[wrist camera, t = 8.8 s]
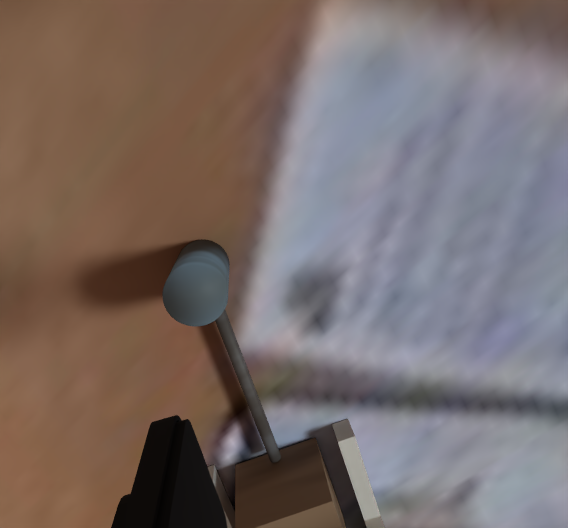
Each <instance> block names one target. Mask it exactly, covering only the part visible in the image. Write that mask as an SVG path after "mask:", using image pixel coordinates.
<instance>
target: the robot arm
mask: <svg viewBox="0 0 568 528" xmlns="http://www.w3.org/2000/svg"><path fill="white" fill-rule="evenodd" d="M111 528H227V521H226V516H225V513H224V510H223V507H222V504H221V502H220V499H219V496H218V494H217V491H216V489H215V486H214V483H213V481H212V478H211V475H210V473H209V470H208V467H207V465H206V462H205V459H204V457H203V454H202V451H201V449H200V446H199V443H198V441H197V438H196V435H195V433H194V430H193V428H192V425H191V423H190V421H189V420H188V419H186V420H183V421H181V419H180V417H179V416H177V415H176V416H172V417H168V418H165V419H161V420H158V421H154V422H152V423H151V425H150V427H149V431H148V434H147V438H146V442H145V445H144V449H143V452H142V456H141V459H140V463H139V466H138V470H137V474H136V477H135V481H134V484H133V488H132V491H131V494H128V495H125V496H123V497H122V498H121V500H120V502H119V504H118V507H117V511H116V514H115V517H114V520H113V524H112V527H111Z"/></svg>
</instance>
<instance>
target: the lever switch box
mask: <svg viewBox="0 0 568 528" xmlns="http://www.w3.org/2000/svg"><path fill="white" fill-rule="evenodd" d="M332 426H333V429H334V432H335V435H336V438H337V441H338V444H339V447H340V450H341V453H342V456H343V459H344V462H345V465H346V468H347V471H348V474H349V477H350V480H351V483H352V486H353V488H354V491H355V494H356V497H357V500H358V503H359V506H360V509H361V512H362V515H363V518H364V521H365V524H366V527H367V528H385V526H384V524H383V521H382V518H381V516H380V513H379V510H378V506H377V503H376V500H375V497H374V494H373V491H372V488H371V485H370V482H369V479H368V475H367V472H366V469H365V466H364V463H363V460H362V457H361V454H360V451H359V448H358V444H357V441H356V438H355V435H354V433H353V430H352V428H351V425H350V423H349V420H348V419H346V420H343V421H340V422H337V423H334V424H332ZM208 470H209V473H210V475H211V478H212V481H213V483H214V486H215V489H216V491H217V494H218V496H219V499H220V502H221V504H222V507H223V510H224V513H225V516H226V521H227V528H235V511H234V509H233V507H232V504H231V502H230V500H229V497H228V495H227V493H226V491H225V488H224V486H223V484H222V481H221V479H220V477H219V475H218V472H217V470H216V468H215V465H212V466H209V467H208Z"/></svg>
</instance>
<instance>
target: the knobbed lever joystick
mask: <svg viewBox="0 0 568 528" xmlns="http://www.w3.org/2000/svg"><path fill="white" fill-rule="evenodd" d="M228 284H229V259H228V256H227V254H226V252H225V250H224V249H223V248H222V247H221V246H220V245H218V244H217V243H215V242H213V241H209V240H196V241H193V242H191V243H189V244H188V245H186V246H185V247H184V248H183V249H182V251H181V252H180V254H179V256H178V258H177V260H176V262H175V264H174V266H173V268H172V270H171V272H170V275H169V277H168V279H167V281H166V283H165V285H164V288H163V303H164V306H165V308H166V310H167V312H168V313H169V314H170V315H171V316H172V317H173V318H174V319H175V320H176V321H178V322H180V323H182V324H185V325H188V326H203V325H207V324H209V323H211V322H213V321H215V322H216V324H217V327H218V329H219V332H220V334H221V337H222V339H223V342H224V345H225V347H226V350H227V352H228V355H229V357H230V360H231V362H232V365H233V367H234V370H235V373H236V375H237V378H238V380H239V383H240V385H241V388H242V390H243V393H244V395H245V398H246V401H247V403H248V406H249V408H250V411H251V413H252V416H253V418H254V421H255V423H256V426H257V429H258V431H259V434H260V436H261V439H262V441H263V444H264V446H265V449H266V451H267V454H266V455H263V456H260V457H257V458H255V459H252V460H249V461H246V462H243V463H240V464H237V465H235V528H346V525H345V521H344V518H343V514H342V511H341V508H340V506H339V503H338V500H337V497H336V494H335V491H334V489H333V486H332V483H331V480H330V477H329V474H328V472H327V469H326V466H325V463H324V460H323V457H322V455H321V452H320V449H319V446H318V443H317V440H316V438H313V439H310V440H307V441H304V442H301V443H298V444H295V445H292V446H290V447H287V448H284V449H281V450H279V449H278V447H277V444H276V442H275V439H274V436H273V434H272V431H271V429H270V426H269V423H268V421H267V418H266V416H265V413H264V410H263V408H262V405H261V402H260V400H259V397H258V395H257V392H256V389H255V387H254V384H253V382H252V379H251V376H250V374H249V371H248V369H247V366H246V363H245V361H244V358H243V356H242V353H241V350H240V348H239V345H238V342H237V340H236V337H235V335H234V332H233V329H232V327H231V324H230V322H229V319H228V316H227V314H226V311H225V308H226V305H227V300H228Z"/></svg>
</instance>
